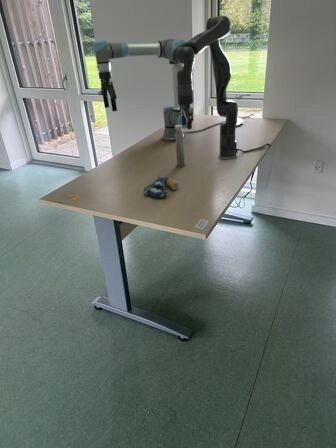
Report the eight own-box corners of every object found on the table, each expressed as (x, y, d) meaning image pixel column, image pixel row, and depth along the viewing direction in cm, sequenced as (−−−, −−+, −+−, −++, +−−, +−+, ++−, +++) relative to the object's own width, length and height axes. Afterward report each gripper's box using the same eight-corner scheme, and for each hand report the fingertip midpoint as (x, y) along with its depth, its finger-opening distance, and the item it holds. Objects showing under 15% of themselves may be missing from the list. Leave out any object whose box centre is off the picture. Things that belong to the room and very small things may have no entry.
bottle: (183, 163, 202) (181, 125, 190) (185, 166, 199) (183, 126, 187) (176, 164, 202) (173, 126, 190) (178, 167, 198) (175, 127, 186)
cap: (181, 127, 191) (181, 124, 190) (183, 128, 187) (182, 126, 187) (174, 128, 190) (174, 125, 189) (175, 129, 187) (175, 127, 186)
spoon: (236, 135, 246) (236, 133, 245) (221, 135, 249) (221, 132, 248) (244, 120, 272) (244, 117, 271) (231, 120, 276) (231, 117, 274)
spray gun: (184, 183, 177) (159, 180, 184) (183, 176, 175) (158, 173, 182) (167, 201, 162) (140, 197, 168) (166, 193, 160) (139, 190, 166)
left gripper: (91, 70, 201) (98, 107, 212) (105, 73, 182) (112, 113, 193) (103, 69, 204) (109, 105, 215) (118, 72, 185) (124, 111, 196)
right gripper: (197, 94, 156) (198, 129, 164) (187, 90, 168) (189, 122, 176) (182, 96, 154) (184, 131, 163) (173, 92, 166) (175, 124, 175)
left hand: (110, 109), depth 204 cm, fingers open, 13 cm apart
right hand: (186, 127), depth 169 cm, fingers open, 8 cm apart
